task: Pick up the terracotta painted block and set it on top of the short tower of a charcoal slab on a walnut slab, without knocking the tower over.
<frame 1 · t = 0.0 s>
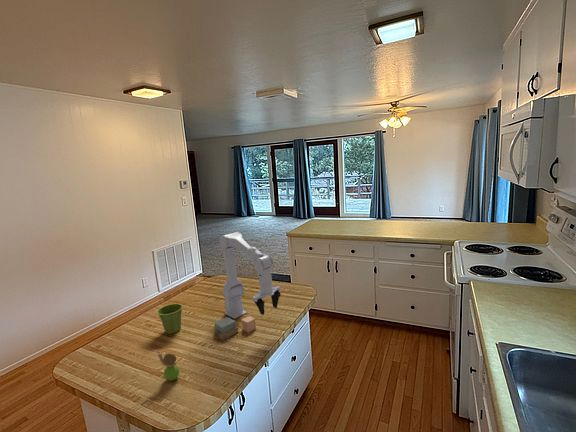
hand: (268, 310, 139), 10 cm above the countertop, tool pointing down, fingers open, 7 cm apart
base slab: (226, 334, 142), on the countertop, touching top slab
top slab: (225, 328, 142), point 2 cm above the countertop, touching base slab
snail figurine: (171, 379, 114), on the countertop
plant pot: (173, 330, 150), on the countertop
terracotta block: (249, 329, 144), on the countertop
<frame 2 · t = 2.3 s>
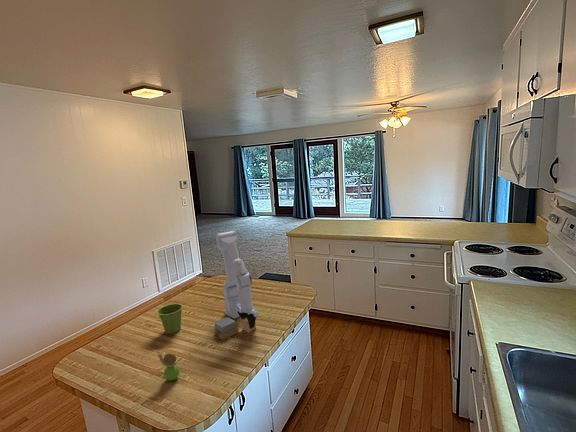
hand: (249, 326, 144), 1 cm above the countertop, tool pointing down, fingers closed on terracotta block, 4 cm apart
terracotta block: (249, 328, 144), on the countertop, touching gripper
everything else where it was.
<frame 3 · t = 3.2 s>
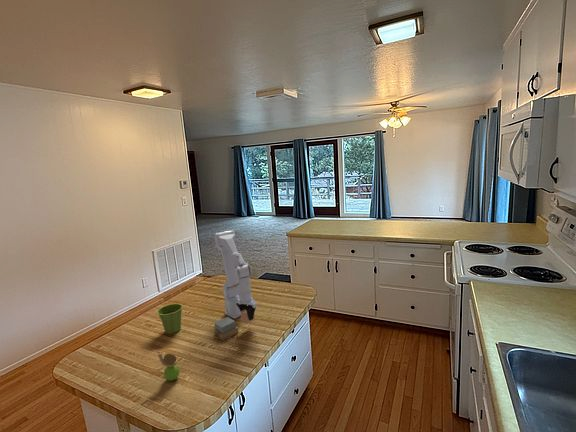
hand: (248, 317, 143), 6 cm above the countertop, tool pointing down, fingers closed on terracotta block, 4 cm apart
terracotta block: (248, 320, 144), point 4 cm above the countertop, touching gripper
everything else where it was.
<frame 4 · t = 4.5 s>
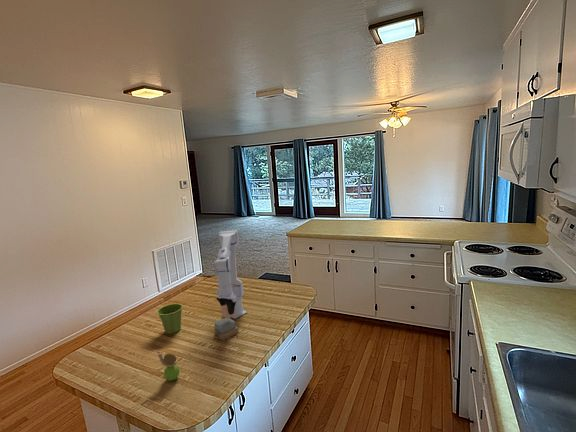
hand: (228, 312, 141), 10 cm above the countertop, tool pointing down, fingers closed on terracotta block, 4 cm apart
terracotta block: (229, 315, 141), point 8 cm above the countertop, touching gripper
everything else where it was.
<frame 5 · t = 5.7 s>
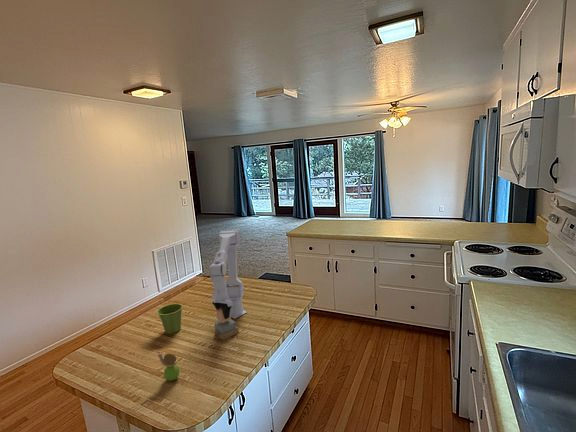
hand: (224, 316, 141), 8 cm above the countertop, tool pointing down, fingers closed on terracotta block, 4 cm apart
terracotta block: (224, 319, 141), point 7 cm above the countertop, touching gripper
everything else where it was.
when the fingers open (8 cm above the countertop, at t = 6.0 s): terracotta block drops 1 cm, resting on top slab.
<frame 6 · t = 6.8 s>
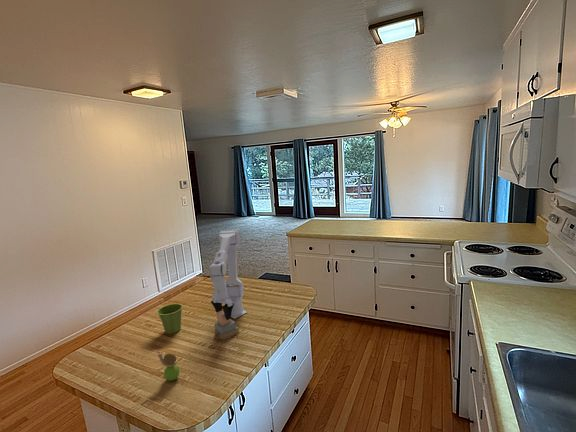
hand: (224, 316, 141), 8 cm above the countertop, tool pointing down, fingers open, 7 cm apart
top slab: (225, 328, 142), point 2 cm above the countertop, touching base slab, terracotta block
terracotta block: (224, 322, 141), point 5 cm above the countertop, touching top slab
everything else where it was.
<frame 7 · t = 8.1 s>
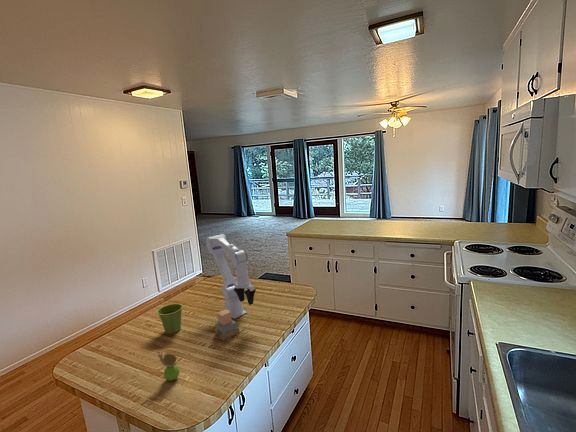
hand: (246, 302, 148), 10 cm above the countertop, tool pointing down, fingers open, 7 cm apart
nothing on the countertop moved.
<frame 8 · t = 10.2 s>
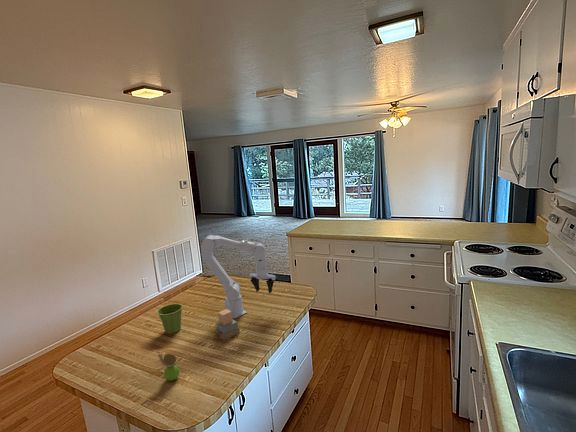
hand: (264, 291, 160), 10 cm above the countertop, tool pointing down, fingers open, 7 cm apart
nothing on the countertop moved.
at the end: terracotta block 0.4 cm off-centre on the top slab, point 3.0 cm above the top slab's base; top slab moved 1.3 cm from its start; base slab moved 1.1 cm from its start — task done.
